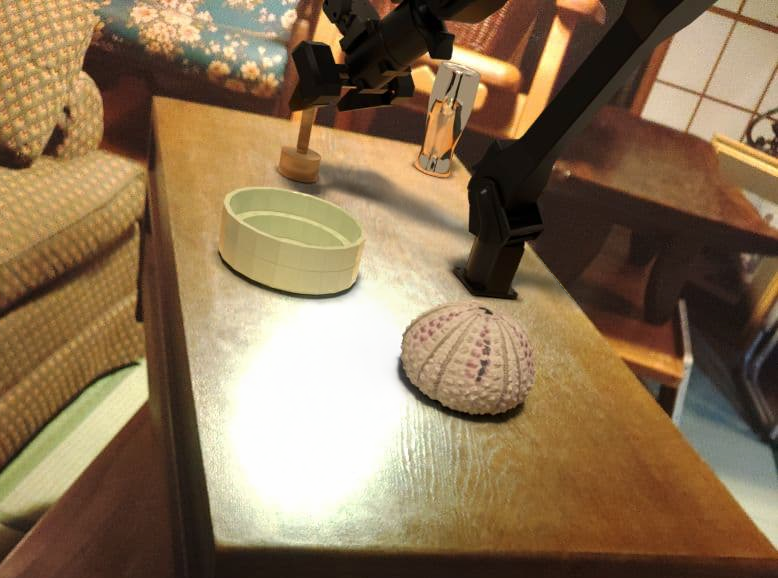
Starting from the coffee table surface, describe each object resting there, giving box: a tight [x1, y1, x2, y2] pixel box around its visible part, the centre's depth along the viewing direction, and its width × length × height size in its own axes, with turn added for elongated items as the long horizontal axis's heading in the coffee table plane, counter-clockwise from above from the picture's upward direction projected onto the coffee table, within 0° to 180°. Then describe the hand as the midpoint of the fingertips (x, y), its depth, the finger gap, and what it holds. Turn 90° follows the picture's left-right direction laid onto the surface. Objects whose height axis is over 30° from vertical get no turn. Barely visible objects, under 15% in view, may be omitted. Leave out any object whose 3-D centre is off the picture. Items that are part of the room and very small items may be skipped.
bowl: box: [217, 186, 367, 295], centre depth 80 cm, size 15×15×6 cm
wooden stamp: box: [277, 108, 322, 184], centre depth 100 cm, size 6×6×14 cm
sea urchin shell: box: [399, 299, 538, 416], centre depth 69 cm, size 13×14×8 cm
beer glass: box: [414, 60, 482, 178], centre depth 118 cm, size 7×7×15 cm
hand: (315, 108), depth 99 cm, fingers open, 9 cm apart
